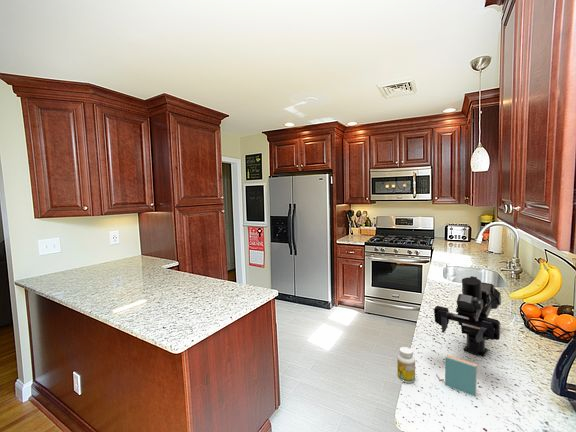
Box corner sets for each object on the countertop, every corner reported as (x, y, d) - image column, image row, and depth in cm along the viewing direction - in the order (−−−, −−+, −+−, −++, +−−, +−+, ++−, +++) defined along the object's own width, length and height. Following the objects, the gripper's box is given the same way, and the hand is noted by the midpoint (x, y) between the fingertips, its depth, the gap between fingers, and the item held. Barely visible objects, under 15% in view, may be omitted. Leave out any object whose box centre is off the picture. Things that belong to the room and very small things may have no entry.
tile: (446, 381, 90) (446, 354, 89) (476, 392, 84) (476, 364, 84) (445, 384, 88) (445, 357, 88) (475, 396, 83) (475, 367, 82)
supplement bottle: (418, 383, 89) (418, 354, 89) (401, 383, 89) (401, 355, 89) (410, 372, 95) (410, 345, 94) (394, 373, 95) (394, 345, 94)
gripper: (440, 284, 104) (425, 306, 93) (503, 296, 91) (494, 322, 80) (442, 310, 106) (428, 334, 96) (503, 325, 93) (495, 355, 83)
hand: (458, 336), depth 89 cm, fingers open, 9 cm apart
